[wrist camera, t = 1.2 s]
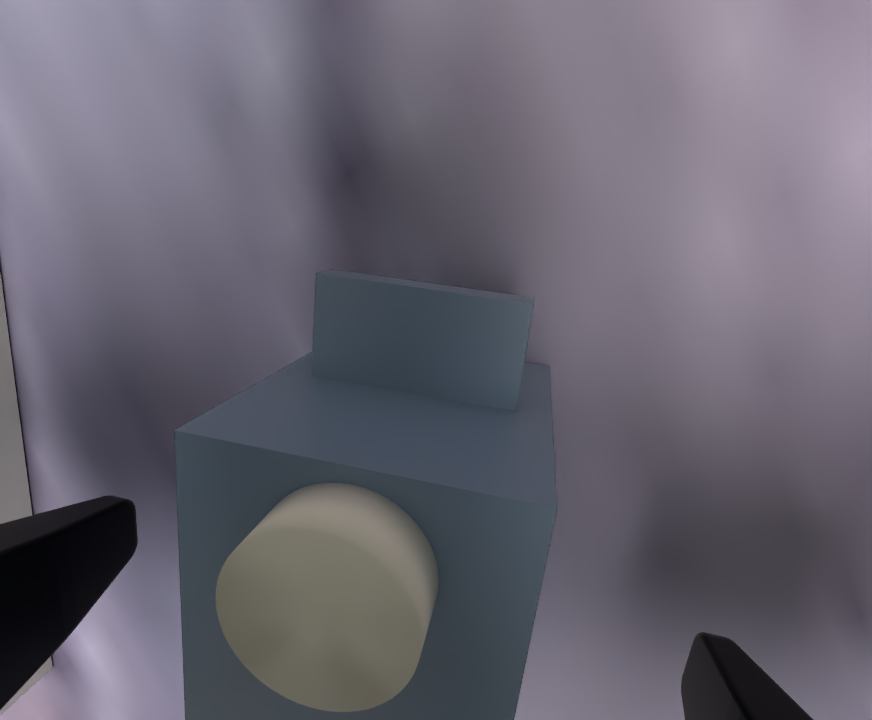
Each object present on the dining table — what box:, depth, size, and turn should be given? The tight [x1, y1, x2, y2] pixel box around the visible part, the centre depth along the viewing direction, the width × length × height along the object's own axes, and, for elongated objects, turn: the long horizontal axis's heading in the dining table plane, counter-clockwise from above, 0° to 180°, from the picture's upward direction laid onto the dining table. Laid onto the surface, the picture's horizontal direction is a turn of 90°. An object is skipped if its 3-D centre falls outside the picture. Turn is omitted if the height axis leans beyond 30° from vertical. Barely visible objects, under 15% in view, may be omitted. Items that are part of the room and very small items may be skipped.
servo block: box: [174, 269, 557, 720], centre depth 8 cm, size 9×4×6 cm, turn 174°
